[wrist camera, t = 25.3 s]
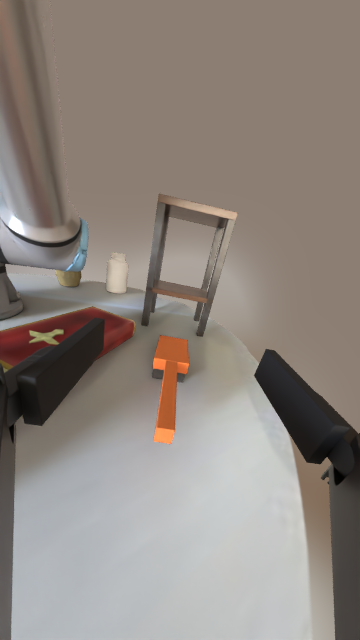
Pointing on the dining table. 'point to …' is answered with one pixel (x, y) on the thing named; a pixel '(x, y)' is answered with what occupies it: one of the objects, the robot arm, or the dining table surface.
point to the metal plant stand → (219, 220)
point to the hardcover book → (60, 334)
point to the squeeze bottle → (68, 278)
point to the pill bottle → (117, 273)
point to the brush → (169, 382)
